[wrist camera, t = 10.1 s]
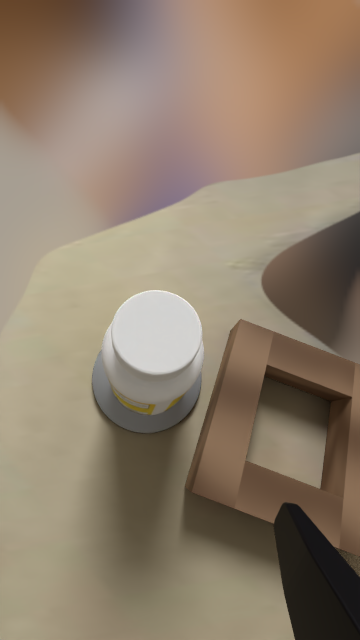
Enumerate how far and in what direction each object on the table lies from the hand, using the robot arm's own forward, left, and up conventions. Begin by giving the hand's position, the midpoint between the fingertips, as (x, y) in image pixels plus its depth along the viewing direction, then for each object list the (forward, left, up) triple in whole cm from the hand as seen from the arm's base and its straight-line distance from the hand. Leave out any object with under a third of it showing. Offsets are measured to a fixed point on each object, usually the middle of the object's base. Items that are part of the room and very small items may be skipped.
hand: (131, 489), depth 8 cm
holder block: (+6, -10, -12) cm, 17 cm away
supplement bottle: (+6, +1, -12) cm, 13 cm away
